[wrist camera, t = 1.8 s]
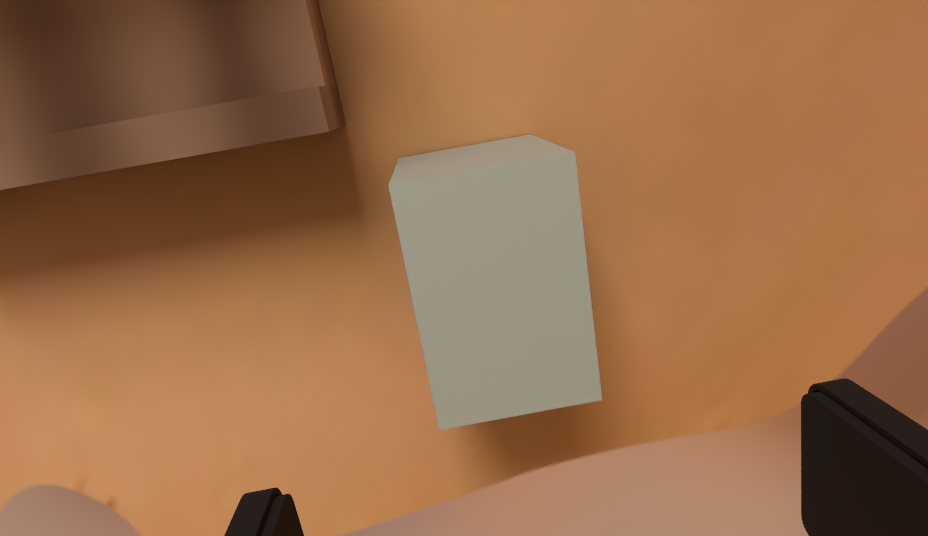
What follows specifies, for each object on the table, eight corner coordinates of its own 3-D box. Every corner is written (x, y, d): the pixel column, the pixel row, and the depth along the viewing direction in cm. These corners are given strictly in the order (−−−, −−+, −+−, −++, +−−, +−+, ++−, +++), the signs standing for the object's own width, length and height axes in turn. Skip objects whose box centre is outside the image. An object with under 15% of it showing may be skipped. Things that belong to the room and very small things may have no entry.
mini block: (530, 134, 26) (574, 152, 18) (555, 323, 29) (602, 407, 21) (398, 157, 26) (388, 185, 18) (436, 345, 29) (440, 437, 21)
